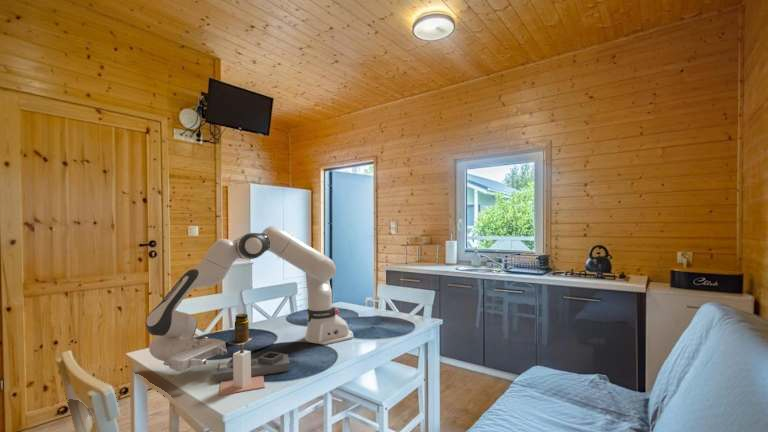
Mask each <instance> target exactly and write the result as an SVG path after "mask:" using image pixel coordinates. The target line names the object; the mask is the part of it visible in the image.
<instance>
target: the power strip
mask: <svg viewBox="0 0 768 432" xmlns="http://www.w3.org/2000/svg"><path fill="white" fill-rule="evenodd" d="M289 371H291V361H290V359H289V356H288V353H281V352H276V351H271V350H270V351H268V352H265V353H264V354H262V355H260V356H259V357H257V358H251V377H258V376H264V375H265V376H266V375H270V374H271V375H272V374H278V373H283V372H289ZM215 378H216V383H221V382H227V381H233V361H229V362H223V363H221V362H220V363H218V364H217V368H216V377H215Z"/></svg>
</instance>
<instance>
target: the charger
mask: <svg viewBox="0 0 768 432" xmlns="http://www.w3.org/2000/svg"><path fill="white" fill-rule="evenodd" d="M244 345H245V344H240V345H239V350H237V351H236V352H234V353H233V354H232V362H233V380H232V381H233V384H234V386H235V387H240V388H244V387H245V386H247V385H249V384H250V383H251V359H252V354H251V353H252V351H251V350H246V349H244V348H245V346H244Z"/></svg>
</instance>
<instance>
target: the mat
mask: <svg viewBox="0 0 768 432" xmlns="http://www.w3.org/2000/svg"><path fill="white" fill-rule="evenodd" d="M264 378H265V377H264V375H260V376H254V377H251V383H250V384H249V385H247V386H245V387H244V388H240V387H235V386H234V384H233V380H229V381H223V382H220V388H219V395H218V396H219V397H221V396H225V395H231V394H239V393H243V392H249V391H254V390H260V389H265V388H266V385H265V379H264Z"/></svg>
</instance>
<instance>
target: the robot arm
mask: <svg viewBox="0 0 768 432" xmlns="http://www.w3.org/2000/svg"><path fill="white" fill-rule="evenodd" d="M267 251H268V252H270V253H273V255H275V256H277V257H279V258H281V259H282V260H284V261H286V262H287V263H289V264H291V265H292V266H294V267H295V268H297V269H298V270H300V271H302V272H304V273H305V280H306V281H305V283H306V289H307V309H306V320H307V325H306V326H307V328H306V333H305V336H304V340H305V341H306V342H307V343H313V344H319V345H323V346H324V345H328V344H335V343H338V342H343V341H347V340H352V339H353V338H354V333H353V331H352V330H351V329H349V325H348V323H347V321H346V320H345V319H344V318H342V317H341V316H339V315H338V314H339V313H340V311H339V309H338V308H336V307H334V306H333V298H332V297H333V295H332V293H333V292H332V291H333V290H332V288H331V284H330V283H331V282H330V280H331V279H333V278H334V276H335V274H336V272H337V267H336V264H335V263H334V261H333V260H332V258H330V257H328V256H327V255H325V254H324V253H322V252H320V251H319V250H317V249H315V248H314V247H311V246H310V245H309V244H306V243H305V242H303V241H302V240H300V239H299V238H298V237H295V236H294V235H292V234H291V233H290V232H287V231H285V230H284V229H282V228H280V227H277V226H272V225H270V226H268V227H265V229H263V230H262V232H261V233H260V232H259V233H258V232H250V233H246V234H243V235H241V236H240V237H238V238H237V239H235V240H231V239H227V238H219V239H217V240H215V242H214V243H213V244H212V245H211V246H210V248H209V249H208V250H207V252H206V253H205V255H204V257H203V258H202V259H201V261H200V262H199V263H198V264H197V265H196V266H195V267H194V268H192V269H190V270H189V269H188V270H187V271H186V272H185V273H184V274H183V275H182V276H181V277H180V278H179V279H178V280H177V282H176V283H175V284H174V286H173V287H172V288H171V289H170V291H169V292H168V293H167V294H166V295H165V297H164V298H163V299H162V300H161V302H160V303H158V304H157V306H155V308H154V309H152V310H151V311H150V312H149V313H148V315H147V316H146V319H145V327H146V330H147V332H148V333H149V334H150V335H151V336H156V337H155V338H153V339H152V340H151V342H150V343H149V347H148V351H149V353H150V355H151V356H152V357H153V358H155V359H157V360H158V361H162V362H163V366H168V367H169V369H171V370H174V371H176V372H183V371H185V370H188V369H189V368H191V367H197V366H200V367H202V366H204V365H206V363H207V362H206V361H207V360H209V359H211V358H213V357H215V356H217V355H220V356H225V355H227V354H228V350H227V349H226V347H227V346H226V341H225V340H222V339H217V338H209V336H202V337H201V336H200V337H197V338H193V337H194V335H195V333H196V331H197V328H198V321H197V318H196V317H195V316H194V314H189V313H186V312H183V311H182V312H181V311H179V310H177V308H178V307H179V306H180V304H182V302H183V300H184V299H185V298H186V297H187V295H188V294H189V293H190V292H191V291H192V290H194V289H197V288H201V287H212V286H216V285H218V284H220V283H221V282H223V280H224V279H225V278H226V276H227V275H228V273H229V270H231V267H232V265H233V264H234V263H235V262H236V260H238V259H242V260H254V259H258V258H259V257H261V256H262V255H264V254H265V252H267Z"/></svg>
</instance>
